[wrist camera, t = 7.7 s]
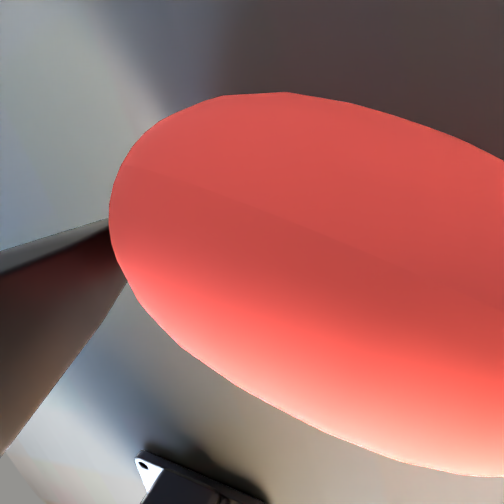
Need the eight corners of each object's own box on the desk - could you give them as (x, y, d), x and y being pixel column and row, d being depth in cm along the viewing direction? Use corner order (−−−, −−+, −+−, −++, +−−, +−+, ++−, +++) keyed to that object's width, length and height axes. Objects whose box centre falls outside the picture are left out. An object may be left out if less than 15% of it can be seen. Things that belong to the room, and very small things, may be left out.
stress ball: (331, -85, 9) (-14, 53, 6) (909, 276, 5) (564, 815, 3) (299, 128, 13) (90, 249, 11) (595, 396, 10) (370, 647, 8)
